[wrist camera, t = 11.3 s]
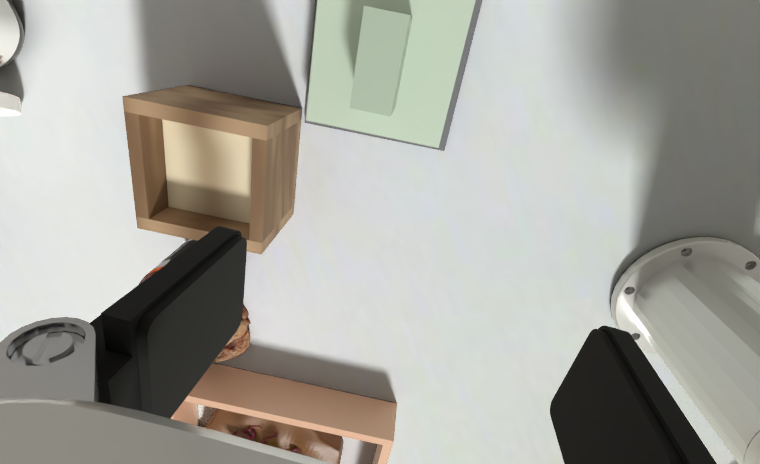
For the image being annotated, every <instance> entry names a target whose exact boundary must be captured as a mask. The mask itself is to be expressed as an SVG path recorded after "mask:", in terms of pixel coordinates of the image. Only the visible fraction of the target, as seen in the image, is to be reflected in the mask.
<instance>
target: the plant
mask: <svg viewBox="0 0 760 464" xmlns="http://www.w3.org/2000/svg"><path fill="white" fill-rule="evenodd" d="M205 428H208V429H212V430H215V431H219V432H223V433H226V434H230V435H233V436H237V437H240V438H244V439H247V440H251V441H255V442H258V443H262V444H265V445H269V446H272V447H276V448H280V449H283V450H287V451H290V452H294V453H297V454H301V455H304V456H308V457H312V458H315V459H319V460H322V461H326V462H329V463H333V464H340V459H341V454H342V449H343V439H342V437H341V436H339V435H335V434H330V433H326V432H321V431H317V430H312V429H308V428H303V427H299V426H294V425H290V424H285V423H281V422H276V421H272V420H267V419H263V418H258V417H254V416H249V415H245V414H240V413H236V412H231V411H227V410H222V409H218V408H217V409H216V410H215V411H214V413H213V414H212V416H211V418H210V419H209V421H208V423H207V425H206V426H205Z"/></svg>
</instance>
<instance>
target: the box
mask: <svg viewBox="0 0 760 464" xmlns="http://www.w3.org/2000/svg"><path fill="white" fill-rule="evenodd" d="M123 105H124V114H125V122H126V131H127V140H128V149H129V158H130V166H131V175H132V184H133V193H134V201H135V210H136V219H137V228H140V229H145V230H149V231H154V232H159V233H163V234H168V235H173V236H178V237H182V238H187V239H192V240H196V241H198V240H200V239H201V238H202V237H204V236H205V235H206V234H208V233H209V232H210V231H212V230H213V229H214V228H216V227H217V226H222V227H226V228H230V229H233V230H237V231H240V232H241V235H242V237H243V238H246V240H247V251H248V252H253V253H258V254H262V253H263V252H264V250H265V249H266V248H267V247H268V245H269V244H270V243H271V242H272V240H273V239H274V238H275V237H276V235H277V234H278V233H279V231H280V230H281V229H282V228H283V226H284V225H285V224H286V223H287V221H288V220H289V219H290V218H291V216H292V215H293V211H294V199H295V187H296V175H297V163H298V151H299V139H300V127H301V115H302V108H298V107H293V106H288V105H283V104H279V103H274V102H269V101H264V100H259V99H254V98H249V97H244V96H239V95H234V94H229V93H224V92H219V91H214V90H209V89H204V88H200V87H195V86H190V85H186V86H180V87H174V88H169V89H163V90H157V91H151V92H145V93H139V94H133V95H128V96H123Z"/></svg>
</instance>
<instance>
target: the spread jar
mask: <svg viewBox="0 0 760 464" xmlns="http://www.w3.org/2000/svg"><path fill="white" fill-rule="evenodd" d="M23 42H24V30H23V25H22V22H21V19H20V17H19V14H18V12H17V10H16V8H15V6H14V5H13V3H12V1H11V0H0V68H1V67H3V66H5V65H7V64H8V63H10V62H12V61H13V60H14V59H15V58H16V57H17V56H18V54H19V53H20V51H21V49H22V46H23ZM21 114H22V112H21V103H20V98H19V97H17V96H15V95H12V94H8V93H5V92H0V116H18V115H21Z"/></svg>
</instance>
